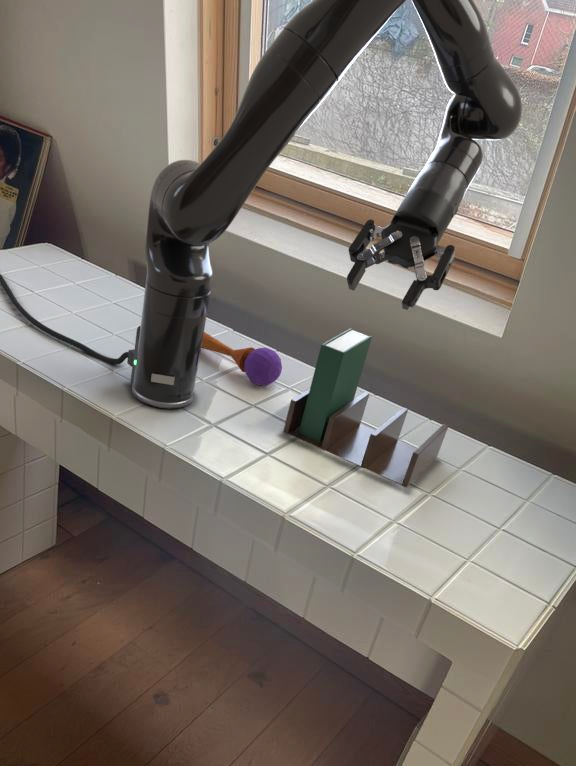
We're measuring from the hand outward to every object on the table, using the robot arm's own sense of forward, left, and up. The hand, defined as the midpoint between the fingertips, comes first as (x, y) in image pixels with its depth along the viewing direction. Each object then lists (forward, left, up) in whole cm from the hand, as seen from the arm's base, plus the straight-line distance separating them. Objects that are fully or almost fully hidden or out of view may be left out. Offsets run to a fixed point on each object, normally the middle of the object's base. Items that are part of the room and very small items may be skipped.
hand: (377, 296), depth 117 cm
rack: (+8, -5, -20) cm, 22 cm away
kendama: (-21, -7, -20) cm, 30 cm away
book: (+2, -7, -19) cm, 20 cm away
